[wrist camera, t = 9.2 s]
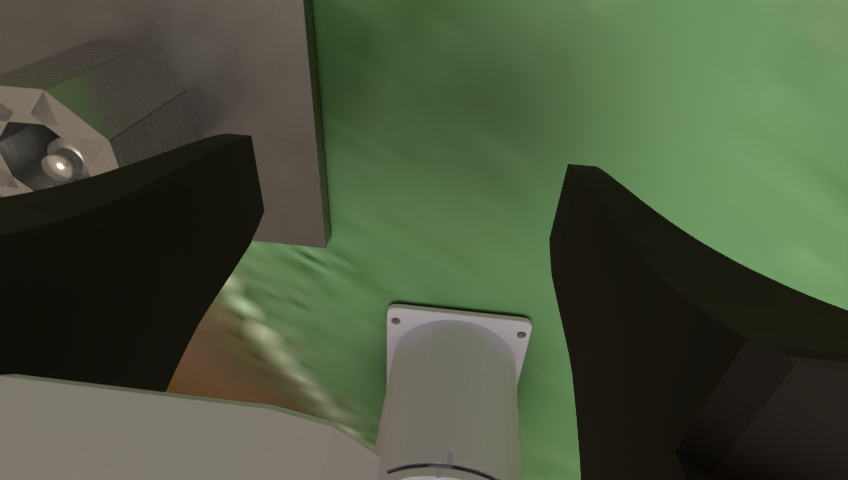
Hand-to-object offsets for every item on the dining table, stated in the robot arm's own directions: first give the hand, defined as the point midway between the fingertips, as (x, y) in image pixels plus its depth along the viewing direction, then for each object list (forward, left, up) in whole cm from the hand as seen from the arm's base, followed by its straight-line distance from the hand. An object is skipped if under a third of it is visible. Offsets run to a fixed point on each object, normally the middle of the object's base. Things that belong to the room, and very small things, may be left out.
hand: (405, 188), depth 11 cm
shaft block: (-3, +13, -10) cm, 17 cm away
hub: (-3, +13, -9) cm, 16 cm away
